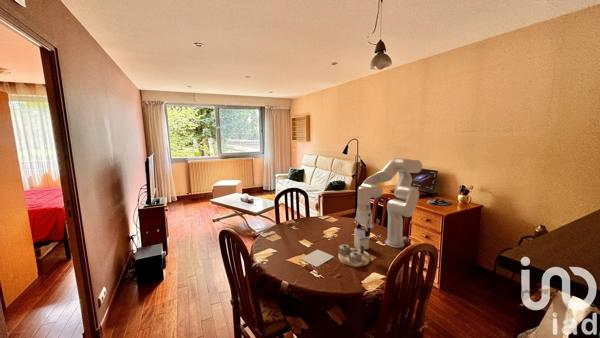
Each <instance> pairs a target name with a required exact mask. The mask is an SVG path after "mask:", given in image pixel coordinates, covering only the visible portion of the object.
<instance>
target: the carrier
mask: <svg viewBox="0 0 600 338" xmlns="http://www.w3.org/2000/svg"><path fill="white" fill-rule="evenodd" d="M338 260H339V261H340V262H341V263H342V264H344V265H346V266H350V267H355V268H358V267H364V266H366V265H368V264H370V262H371V255H370V254H369V253H368V252H367V251H366V250H365V249H364V246H363V245H362V246H361V249H357V248H356V247H351V246H350V245H348V244H339V246H338Z"/></svg>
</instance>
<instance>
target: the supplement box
mask: <svg viewBox="0 0 600 338" xmlns="http://www.w3.org/2000/svg"><path fill="white" fill-rule="evenodd" d="M353 233H354V234H353V235H354V237H353V240H354V241H353V246H354V248H356V249H361V246H362V245H363V246H364V250H369V247H370V236H369V237H366V238H363V237H359V236H358V235H357V227H356V228H354V232H353Z"/></svg>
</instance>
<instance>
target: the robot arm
mask: <svg viewBox="0 0 600 338" xmlns="http://www.w3.org/2000/svg"><path fill="white" fill-rule="evenodd" d="M422 170H423V163H422V161H420V160H418V159H410V158H402V157H401V158H400V157H393V158H391V159H390V160H389V161H388V162H387V163H386V164H385V165H384V166H383V168H382V169H381V170H380V171H377V172H376V173H374V174H372V175H370V176H368V177H367V178H366V179H365V180H364V181H363V182H362V184H361V185H360V186H358V188H357V208H356V214H355V217H354V220H355V224H356V228H357V230H358V228H361V227H362V226H364V228H366V231H365V237H368V236H369V237H370V236H371V230H372V229H373V228H374V227H375V225H374V224H373V212H372V209H371V208H372V207H371V199H373V198H375V199H376V198H380V197H382V195H383V193H384V190H383V188H382V187H381V186H380V185H377V184H381V183H386V182H390V181H392V180H393V178H394V177H395V176H396V175H397V173H398V179H397V183H396V186H395V188H394V192H393V194H394V196H395V198H392V199H390V200H388V201H387V203H386V211H387V239H385V240H384V244H385V245H387V246H388V247H392V248H396V249H397V248H404V246H405V242H404V241H405V240H407V239H408V237H407V236H403V230H404V228H403V226H404V218H403V217H406V218H410V217H412V216H413V214H414V212H415V210H416V207H417V204H418V202H419V198H420V191H419V188H417V187H415V186H411V185H412V182H413V178H412V175H411V174H418V173H420V172H422ZM396 198H398V199H396ZM400 199H401V200H400Z"/></svg>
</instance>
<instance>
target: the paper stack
mask: <svg viewBox="0 0 600 338" xmlns="http://www.w3.org/2000/svg"><path fill="white" fill-rule="evenodd" d="M333 258H335V256H334V255H332V254H329V253H327V252H325V251H322V250H320V249H315V250H314V251H312V252H310V253H308V254H306V255H304V256H302V257H301V258H300V260H302V261H304V262H306V263H308V264H310V265H311V266H314V267H316V268H318V267H320V266H321V265H323V264H324V263H326V262H327V261H329V260H331V259H333Z"/></svg>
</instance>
